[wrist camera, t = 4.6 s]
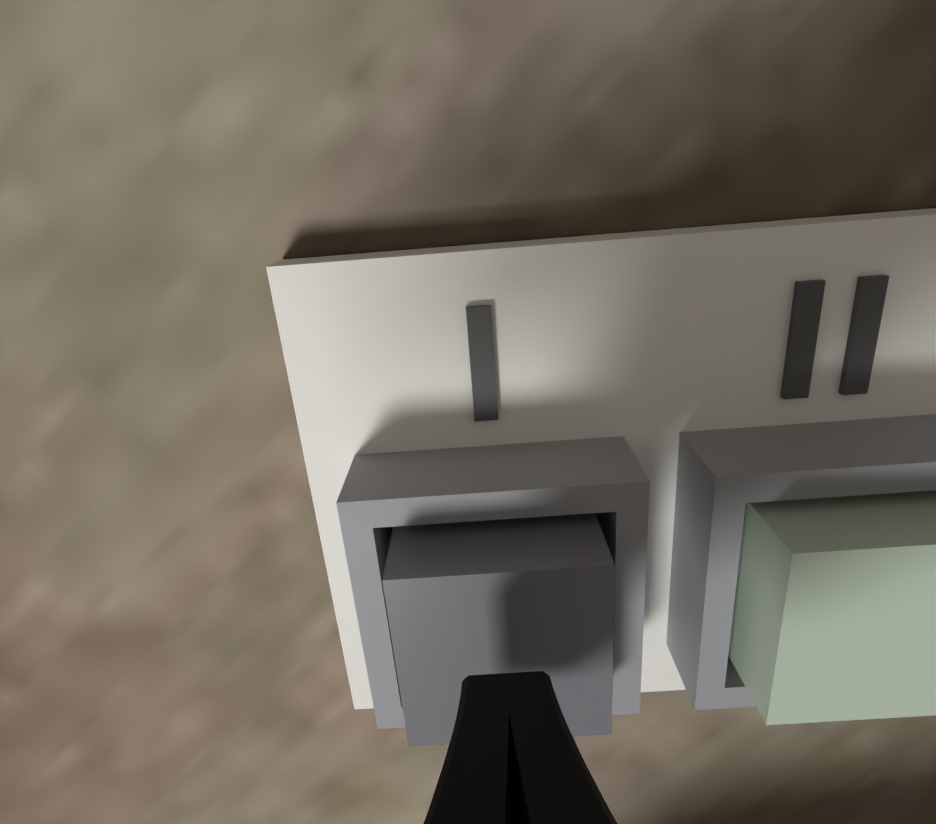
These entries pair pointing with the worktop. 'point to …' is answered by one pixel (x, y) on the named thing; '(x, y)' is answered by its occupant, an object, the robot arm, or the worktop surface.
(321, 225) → the worktop surface
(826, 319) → the keypad
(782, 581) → the key two
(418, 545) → the key one
